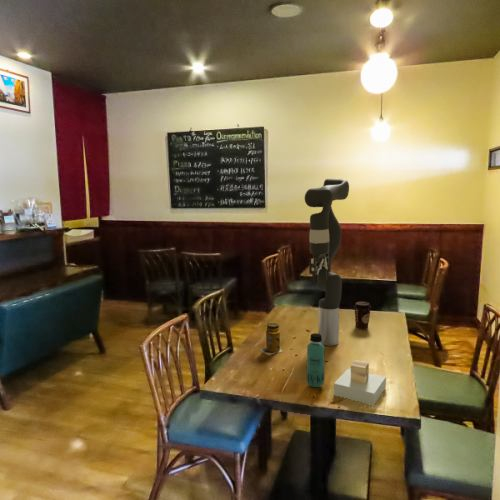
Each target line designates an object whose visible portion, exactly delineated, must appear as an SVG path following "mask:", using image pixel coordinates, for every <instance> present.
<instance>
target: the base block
mask: <svg viewBox="0 0 500 500" xmlns="http://www.w3.org/2000/svg"><path fill="white" fill-rule="evenodd" d="M386 385H387V377H386V376H384V375H379V374H374V373H370V372H369V378H368V380H367V382H366V383H365V384H361V383H356V382H351V368H348V367H347V369H346V370H345V371H344V372H343V373H342V375H340V376H339V378H338V379H337V380H335V381H334V383H333V396H335V397H338V396H340V397H339V398H342V397H344V398H343V399H346V398H348V399H347V400H349V399H351V400H350V401H353V400H355V401H354V402H357V401H359V402H358V403H360V402H362V403H361V404H364V403H366V404H365V405H368V404H370V405H369V406H371V405H374V404H375V403H376V404H377V402H378V401H379V399H380V398H379V397H381V396H382V395H383V393H384V392H385V390H386V389H387V387H386ZM385 388H386V389H385ZM384 389H385V390H384ZM383 391H384V392H383ZM382 392H383V393H382ZM381 394H382V395H381ZM380 395H381V396H380ZM378 398H379V399H378ZM377 400H378V401H377ZM376 401H377V402H376ZM376 404H375V405H376ZM375 405H374V406H375Z"/></svg>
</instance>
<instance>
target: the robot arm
mask: <svg viewBox="0 0 500 500" xmlns="http://www.w3.org/2000/svg"><path fill="white" fill-rule="evenodd" d="M349 191H350V184H349V182H348V180H346V179H344V178H326V179H325V180H324V182H323V185H322V186H321V187H315V188H309V189H307V191H306V192H305V195H304V203H305V204H306V205H307V207H310V208H321V211H319V212H316V213H312V214H311V215H310V216H309V217H310V218H309V253H310V254H311V255H313V256H312V257H313V258H312V257H310V258H309V260H308V261H309V263H308V264H309V265H308V267H309V269H308V271H309V275H312V277H311V278H312V279H311V280H312V282H311V283H312V285H315V286H316V288H317V289H318V290H319V291H322V292H325V294H324V295H325V296H324V298H321V299H319V300H318V334H321V336H322V341H321V342H320V343H322V344H323V345H324V346H327V347H328V346H331V347H332V346H337V345H338V344H339V334H340V333H339V331H340V303H341V300H342V289H343V281H342V278H341V276H340V275H339V274H338V273H335V272H332V271H331V269H332V262H333V259H334V257H335V255H336V254H337V252H338V251H339V249H340V246H341V243H342V231H343V230H342V227H341V225H340V222H339V221H338V218H337V217H336V216H335V213H334V210H333V208H332V205H333V201H343V200H345V199H347V198H348V196H349Z"/></svg>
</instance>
